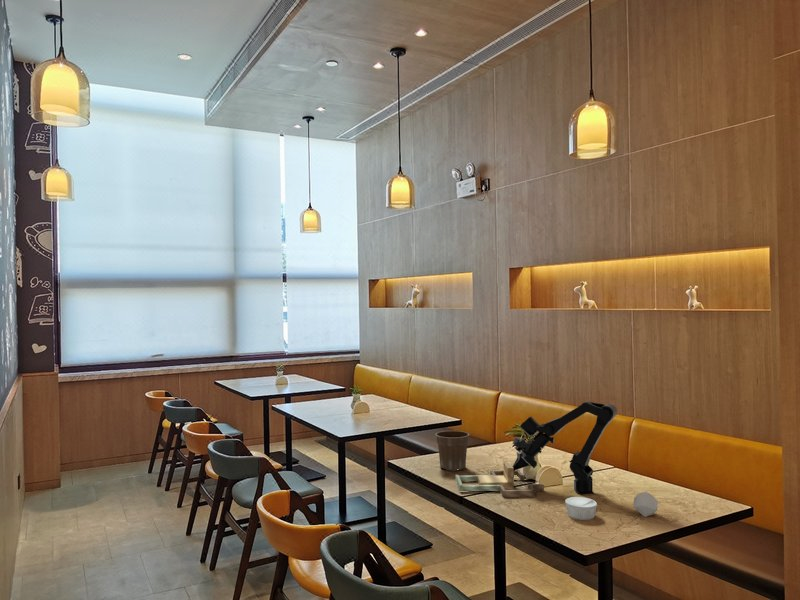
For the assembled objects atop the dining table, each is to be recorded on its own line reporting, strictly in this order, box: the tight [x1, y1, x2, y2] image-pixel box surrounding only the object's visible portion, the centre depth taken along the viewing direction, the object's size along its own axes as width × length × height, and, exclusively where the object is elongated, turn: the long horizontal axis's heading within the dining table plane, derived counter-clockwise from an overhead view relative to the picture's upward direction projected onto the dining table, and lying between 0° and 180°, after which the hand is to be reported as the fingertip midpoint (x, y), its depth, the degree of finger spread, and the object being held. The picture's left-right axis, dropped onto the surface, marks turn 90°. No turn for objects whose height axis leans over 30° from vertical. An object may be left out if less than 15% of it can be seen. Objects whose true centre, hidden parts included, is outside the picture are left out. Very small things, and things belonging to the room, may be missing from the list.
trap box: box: [455, 469, 545, 498], centre depth 257 cm, size 35×29×3 cm
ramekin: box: [564, 496, 598, 521], centre depth 220 cm, size 11×11×5 cm
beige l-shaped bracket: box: [477, 461, 515, 490], centre depth 257 cm, size 14×10×9 cm
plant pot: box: [435, 430, 470, 471], centre depth 286 cm, size 16×16×16 cm
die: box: [632, 491, 659, 518], centre depth 221 cm, size 8×9×10 cm
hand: (512, 470), depth 257 cm, fingers closed
